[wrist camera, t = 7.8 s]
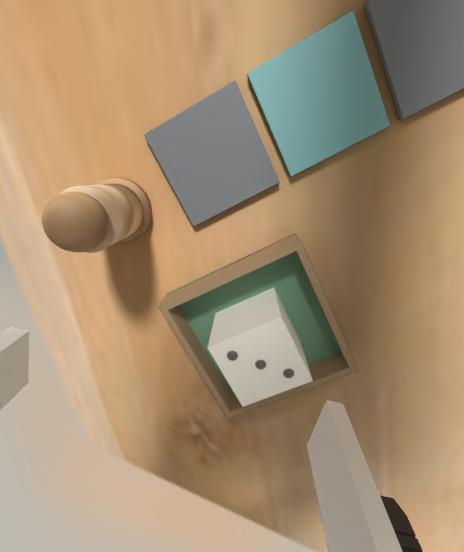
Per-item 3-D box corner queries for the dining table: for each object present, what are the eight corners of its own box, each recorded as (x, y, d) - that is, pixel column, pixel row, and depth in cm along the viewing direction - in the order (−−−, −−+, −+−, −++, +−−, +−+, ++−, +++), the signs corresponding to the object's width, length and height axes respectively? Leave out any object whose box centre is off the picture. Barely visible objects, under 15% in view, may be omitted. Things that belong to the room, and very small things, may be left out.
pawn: (80, 195, 26) (-4, 207, 17) (131, 166, 25) (68, 162, 16) (114, 248, 28) (52, 283, 19) (163, 223, 27) (121, 247, 18)
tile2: (247, 75, 23) (247, 73, 22) (350, 14, 21) (353, 10, 21) (290, 176, 25) (291, 176, 24) (386, 126, 23) (390, 125, 23)
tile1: (146, 135, 24) (143, 134, 24) (235, 82, 23) (235, 80, 22) (194, 225, 27) (193, 226, 26) (279, 182, 25) (279, 182, 25)
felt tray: (166, 294, 29) (158, 307, 26) (295, 233, 26) (300, 240, 24) (229, 397, 32) (227, 418, 29) (347, 351, 30) (358, 370, 27)
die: (215, 313, 29) (206, 349, 23) (274, 287, 27) (281, 318, 22) (244, 365, 30) (244, 412, 24) (301, 342, 29) (315, 386, 23)
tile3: (364, 6, 21) (367, 1, 21) (484, -66, 20) (491, -73, 19) (399, 120, 23) (403, 118, 23) (510, 63, 22) (518, 60, 21)
